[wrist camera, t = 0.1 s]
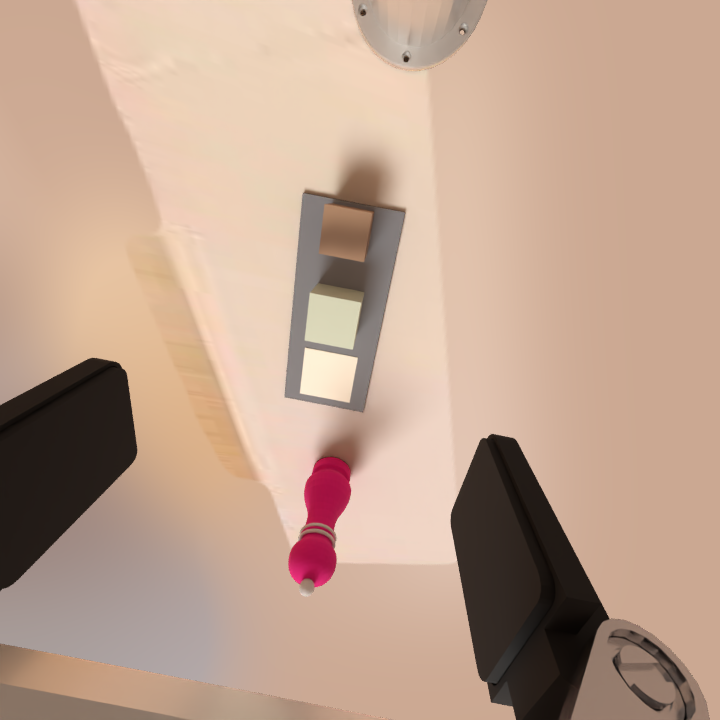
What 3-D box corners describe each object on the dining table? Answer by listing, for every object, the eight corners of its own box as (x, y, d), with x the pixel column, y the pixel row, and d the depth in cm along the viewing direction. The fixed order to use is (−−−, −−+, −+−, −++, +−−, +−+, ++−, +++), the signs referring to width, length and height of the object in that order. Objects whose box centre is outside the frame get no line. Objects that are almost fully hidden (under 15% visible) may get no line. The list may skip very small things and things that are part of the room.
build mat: (303, 193, 40) (302, 192, 40) (404, 212, 40) (405, 212, 40) (285, 395, 52) (284, 397, 52) (363, 410, 52) (362, 412, 52)
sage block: (318, 283, 44) (309, 292, 39) (364, 292, 44) (361, 302, 39) (312, 326, 47) (304, 340, 42) (356, 335, 47) (352, 349, 42)
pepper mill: (354, 455, 56) (336, 578, 38) (352, 489, 59) (336, 616, 41) (310, 452, 56) (272, 571, 38) (311, 485, 59) (276, 610, 41)
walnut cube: (332, 203, 40) (324, 203, 35) (374, 211, 40) (372, 213, 35) (326, 247, 42) (318, 253, 38) (366, 255, 42) (363, 262, 38)
